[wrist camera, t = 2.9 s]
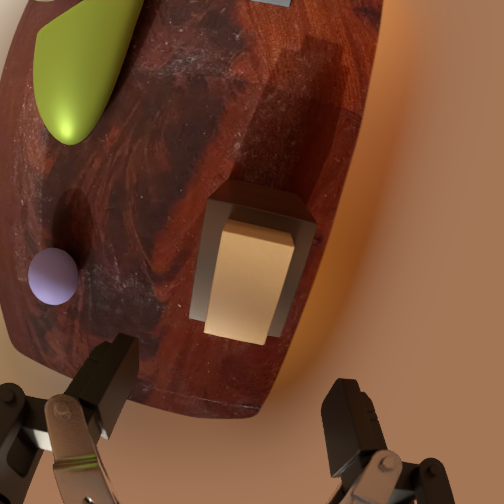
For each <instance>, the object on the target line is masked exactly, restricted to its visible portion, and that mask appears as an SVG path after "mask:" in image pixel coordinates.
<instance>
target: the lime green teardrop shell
mask: <svg viewBox="0 0 504 504" xmlns="http://www.w3.org/2000/svg"><path fill="white" fill-rule="evenodd" d="M143 2H144V0H83V1H82V2H80V3H79V4H77V5H76V6H74V7H72V8H71V9H69V10H68V11H66V12H65V13H63V14H62V15H60V16H59V17H57V18H56V19H54V20H53V21H51V22H50V23H48V24H47V25H45V26H44V27H43V28H42V29H41V30H40V31H39V32H38V34H37V38H36V45H35V53H34V65H33V83H34V93H35V99H36V103H37V107H38V110H39V113H40V115H41V118H42V120H43V122H44V124H45V125H46V127H47V129H48V130H49V131H50V133H51V134H52V135H53V136H54V137H55V138H56V139H57V140H59V141H60V142H62V143H64V144H67V145H73V144H77V143H79V142H80V141H82V140H83V139H84V138H86V137H87V136H88V134H89V133H90V132H91V131H92V130H93V128H94V127H95V125H96V124H97V122H98V121H99V119H100V117H101V115H102V113H103V111H104V109H105V107H106V105H107V103H108V101H109V99H110V96H111V94H112V91H113V89H114V86H115V84H116V81H117V79H118V76H119V73H120V70H121V67H122V65H123V62H124V59H125V56H126V53H127V50H128V47H129V44H130V41H131V38H132V35H133V32H134V29H135V26H136V23H137V20H138V17H139V14H140V11H141V8H142V5H143Z"/></svg>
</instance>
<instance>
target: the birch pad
mask: <svg viewBox="0 0 504 504" xmlns="http://www.w3.org/2000/svg"><path fill="white" fill-rule="evenodd" d="M294 248H295V246H294V243H293V240H292V236H291V233H287V232H283V231H279V230H275V229H270V228H266V227H262V226H257V225H253V224H249V223H244V222H240V221H235V220H231V219H228V220H227V222H226V224H225V227H224V229H223V231H222V236H221V241H220V246H219V251H218V256H217V261H216V266H215V272H214V277H213V282H212V288H211V293H210V299H209V304H208V310H207V316H206V321H205V327H204V333H208V334H212V335H217V336H221V337H226V338H231V339H235V340H240V341H245V342H250V343H255V344H260V345H264V344H265V341H266V338H267V335H268V332H269V329H270V325H271V322H272V319H273V316H274V313H275V310H276V307H277V304H278V301H279V297H280V294H281V291H282V288H283V285H284V281H285V278H286V275H287V272H288V268H289V265H290V262H291V258H292V255H293V252H294Z"/></svg>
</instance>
